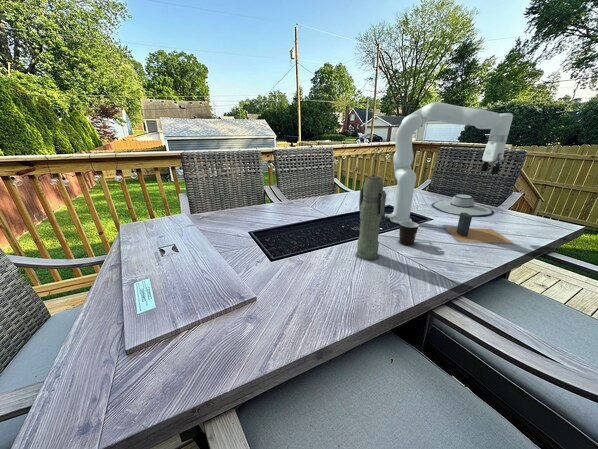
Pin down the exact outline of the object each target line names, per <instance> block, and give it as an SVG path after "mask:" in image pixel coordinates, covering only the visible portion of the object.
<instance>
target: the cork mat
mask: <svg viewBox="0 0 598 449" xmlns="http://www.w3.org/2000/svg"><path fill="white" fill-rule="evenodd" d="M444 229H446V231H447V232H448V233H449V234H451V235H452V236H453V237H454V238H455V239H457V241H459V242H479V243H480V242H481V243H506V244H507V243H508V244H513V242H512V241H511V240H509V239H507V238H506V237H504V236H503V235H501V234H500V233H498V232H496V231H495V230H493V229H491V228H471V227H470V228H469V232H468V236H461V235H459V234H458V233H457V232H456V231H457V227H444Z"/></svg>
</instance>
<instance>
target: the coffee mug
mask: <svg viewBox="0 0 598 449" xmlns="http://www.w3.org/2000/svg"><path fill="white" fill-rule="evenodd" d="M419 227H420V224H419V223H417V222H415V221H412V222H411V221H402V222H400V224H399V231H398V232H399V236H398V238H399V244H401V245H402V246H406V247H407V246H408V247H410V246H413V245H414V243H415V239H416V237H417V233H418V230H419Z"/></svg>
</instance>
